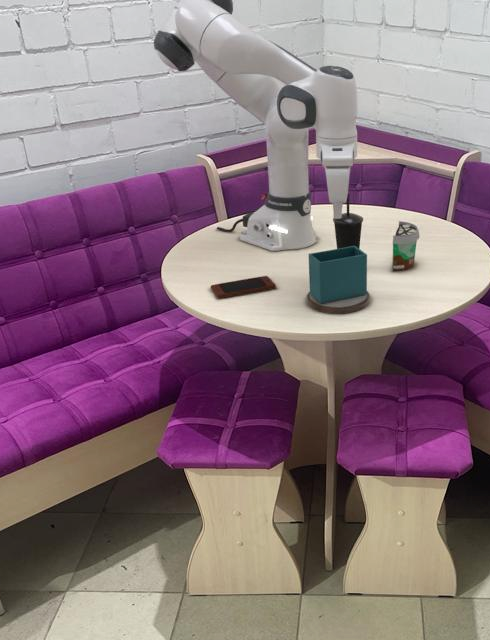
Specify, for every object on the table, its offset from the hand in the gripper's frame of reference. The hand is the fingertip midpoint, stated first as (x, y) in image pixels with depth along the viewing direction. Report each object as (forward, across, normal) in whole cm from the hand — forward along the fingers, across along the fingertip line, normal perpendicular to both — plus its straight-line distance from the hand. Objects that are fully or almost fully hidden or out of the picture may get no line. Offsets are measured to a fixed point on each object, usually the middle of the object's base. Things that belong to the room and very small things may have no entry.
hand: (337, 211), depth 168 cm
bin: (+20, 0, 0) cm, 20 cm away
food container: (+22, -21, +19) cm, 36 cm away
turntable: (+22, 0, 0) cm, 22 cm away
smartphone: (+22, -8, -23) cm, 33 cm away
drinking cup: (+22, -19, +3) cm, 29 cm away
